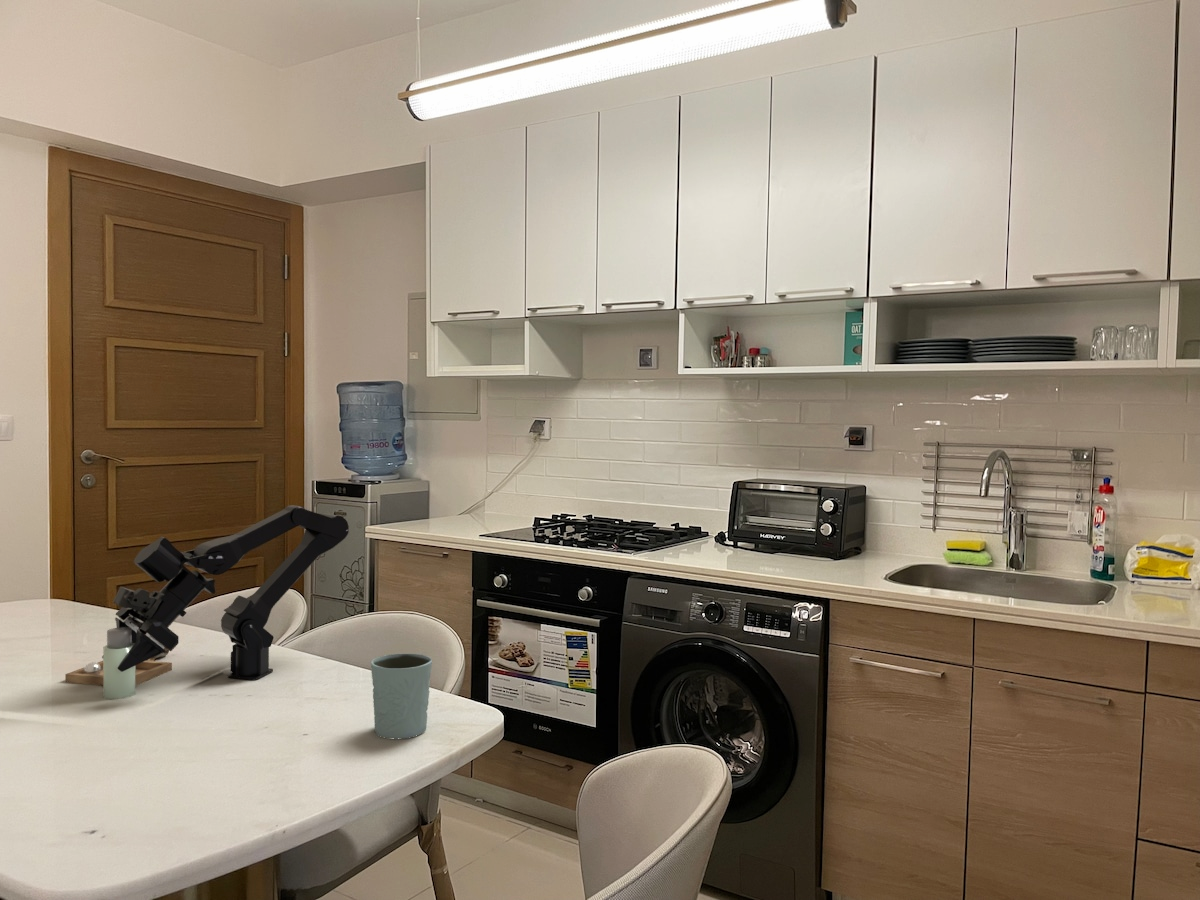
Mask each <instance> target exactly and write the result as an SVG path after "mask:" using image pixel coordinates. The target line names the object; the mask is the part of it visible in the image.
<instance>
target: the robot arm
mask: <svg viewBox="0 0 1200 900" xmlns="http://www.w3.org/2000/svg"><path fill="white" fill-rule="evenodd" d="M296 527H299V528H300V529H304V533H303V536H302V540H301V541H300V543H299V544H298V546H296V548H295V549H293V551H292V552H291V553H290V554H289V555H288V556H287V557H286V558H285V559H284V560H283V561H282V563H280V565H279V566H278V567H277V568H276V569H275V570H274V571H273V573H272V574H271V575H270V576H269V577H268V578H267V579H266V580H265V581H264V582H263V583H262V585H260V587H259V588H258V589H257V590H256V591H255V592H254V593H253V594H252V595H249V596H247V597H244V596H242V595H237V597H236V598H235V599H234V600H233V601H232V603H231V604H230V605H229V606H227V608H224V609H223V611H224V612H225V613H224V614H223V615H222V617H221V619H220V622H221V623H220V625H221V627H220V628H221V630H222V632H223V633H224V634H225V635H227V636H228V637H229V640H230V642H231V643H233V645H232V651H231V652H230V673H229V674H227V678H230V679H231V678H232V679H244V680H252V681H253V680H258V679H261V678H263V677H265V676H267V675H269V674H271V673H273V672H274V669H273V668H269V667H270V665H269V664H270V663H269V662H270V648H271V646H272V644H273V641H274V635H272V633H270V632H269V631H268V630H266V629H265V626H266V624H267V623H268V621H269V618H270V615H271V612H272V609H273V608H274V607H275V605H277V603H278V602H279V601H280V600H281V599H282V598H283V596H284V595H285V594H286V593H287V592H289V590H290V589H291V588H292V587H293V585H294V584H295V583H296V582H297V581H298V580H299V579H300V578H301V576H302V575H304V573H305V572H306V571H307V570H308V569H309V568H310V566H312V564H313V563H314V562H315V561H316V560H317V559H318V558H319V557H320V556H321V555H323V554H325V553H327V552H328V551H331V550H332V549H334V548H335V547H336V546H338V545H339V544H340V543H342V542H343V541H344V540H345V539H346V538H347V536H348V535H349V532H350V530H349V527H350V526H349V523H348V521H347V520H346V518H344V517H343V516H340V515H338V514H332V513H328V512H322V513H319V512H318V513H317V512H315V511H311V510H309V509H305V507H302V506H299V505H293V504H292V505H291V504H290V505H287V506H286V507H284V509H282V510H280V511H278V512H276V513H274V514H272V515H270V516H267V517H266V518H264V519H262V520H261V521H258V522H257V523H254V524H252V525H249V527H247V528H244V529H242V530H241V531H238V532H237V533H235V534H231V535H228V536H224V537H218V538H214V539H211V540H208V541H205V542H202V543H200V544H198V545H197V546H196V547H195V548H194V549H191V550H186V551H180V550H178V549H177V548H176V547H175V546H174V545H173V544H172V542H171V541H170V540H169V539H168V538H166V537H163V536H160V537H159V538H158V539H157V540H155V541H153V542H152V543H150V544H149V545H147V546H146V547H145V546H144V547H142V549H141V550H140V551H139V552H138V553H137V554H136V556H135V558H134V560H133V563H134V564H135V565H136V566H137V567H138V568H140V569H141V570H143V572H145V573H146V574H147V575H148V576H149V577H150V578H151V579H153V580H154V581H155V582H157V583H161V582H163V581H164V582H166V584H165V585H164V586H163V588H162V589H160V591H159V590H153V591H152V592H150V591H149V590H145V589H142V588H140V587H138V588H137V589H136V590H133V589H130V588H127V587H125V586H120V587H119V589H118V591H117V593H116V594H115V597H114V599H113V601H112V603H113V604H116V605H117V606H118V607H120V609H118V611H116V613H115V616H116V617H115V618H114V621H115V625H116V628H120V627H128V628H132V643H134V646H133V647H132V648H131V650H130V651H129V652H128V654H127V655H126V656H125V658H124V659H123V660H122V662H121V663H120V665H119V666H118V668H117V669H118V670H120V671H121V672H123V671H125V670H127V669H129V668H131V667H133V666H135V665H138V664H140V663H142V662H144V661H146V660H148V659H150V658H153V657H155V656H157V655H159V654H162V653H166V651H165V650H164V648H166V649H168V650H169V652H172V651H173V650H174V649H175V648H176V647H177V646H178V644H179V635H178V634H177V633H175V632H174V631H173V630H171V629H170V628H169V627H170V626H171V625H172V624H173V623H174V622H175V621H176V619H178V617H179V616H180V617H182V618H183V617H184V616H185V615H187V611H185V610H186V609H187V608H188V607H189V605H191V603H193V602H194V600H195V599H196V598H197V597H198V596H199V595H200V594H201V593H202V592H203V590H204V591H205V592H207V593H209V594H213V595H214V594H215V593H216V587H215V584H216V580H215V579H213V578H210V577H209V578H206V577H205V576H204V575H203V574H202V573H201V572H200V571H202V572H204V573H207V574H210V575H214V576H220V575H222V574H224V573H226V572H227V571H229V570H230V569H231V568H232V567H234V566H235V565H237V564H238V563H239V562H240V561H241V560H242V558H243V557H244V556H245V555H247V554H248V553H249V552H252V551H253V550H255V549H257V548H259V547H260V546H263V545H264V544H266V543H268V542H270V541H272V540H274V539H276V538H277V537H279V536H281V535H284V534H285V533H286V532H289V531H291V530H293V529H295V528H296ZM185 565H187V566H190V567H192V568H195V569H197V570H195V569H194V570H190V569H188V568H187V567H186V566H185ZM101 659H103V655H102V656H101Z"/></svg>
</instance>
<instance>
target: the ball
mask: <svg viewBox="0 0 1200 900" xmlns="http://www.w3.org/2000/svg"><path fill="white" fill-rule="evenodd" d="M84 667H85V668H84ZM84 667H83V668H84V674H91V675H100V673H101V671H102V668H101V666H100V665H99V664H98V662H96V661H95V662H94V661H93V662H90V663H88V664H86V665H85V666H84Z"/></svg>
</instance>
